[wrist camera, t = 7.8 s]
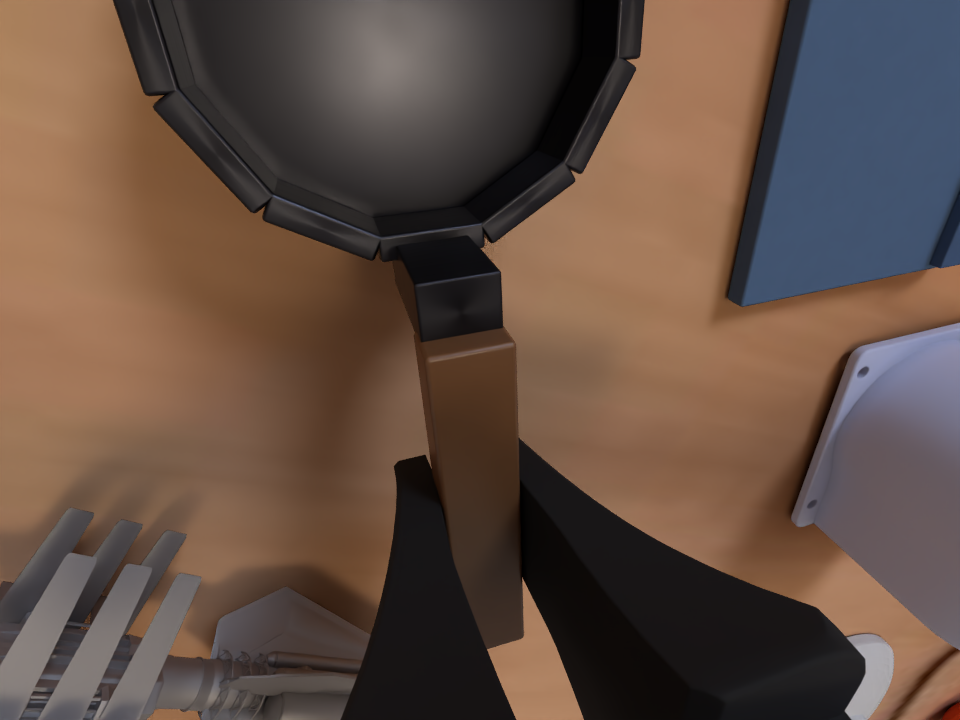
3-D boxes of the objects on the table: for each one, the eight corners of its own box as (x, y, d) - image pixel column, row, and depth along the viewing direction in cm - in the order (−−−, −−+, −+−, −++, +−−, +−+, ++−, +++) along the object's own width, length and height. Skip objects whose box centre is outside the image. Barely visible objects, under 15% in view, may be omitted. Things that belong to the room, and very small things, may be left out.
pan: (39, -342, 7) (-284, -821, 3) (605, -300, 9) (843, -583, 5) (312, 541, 15) (313, 703, 11) (574, 477, 17) (651, 600, 13)
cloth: (939, 256, 19) (971, 267, 18) (726, 299, 17) (750, 313, 16) (1188, -340, 12) (1260, -370, 11) (869, -387, 10) (927, -430, 9)
